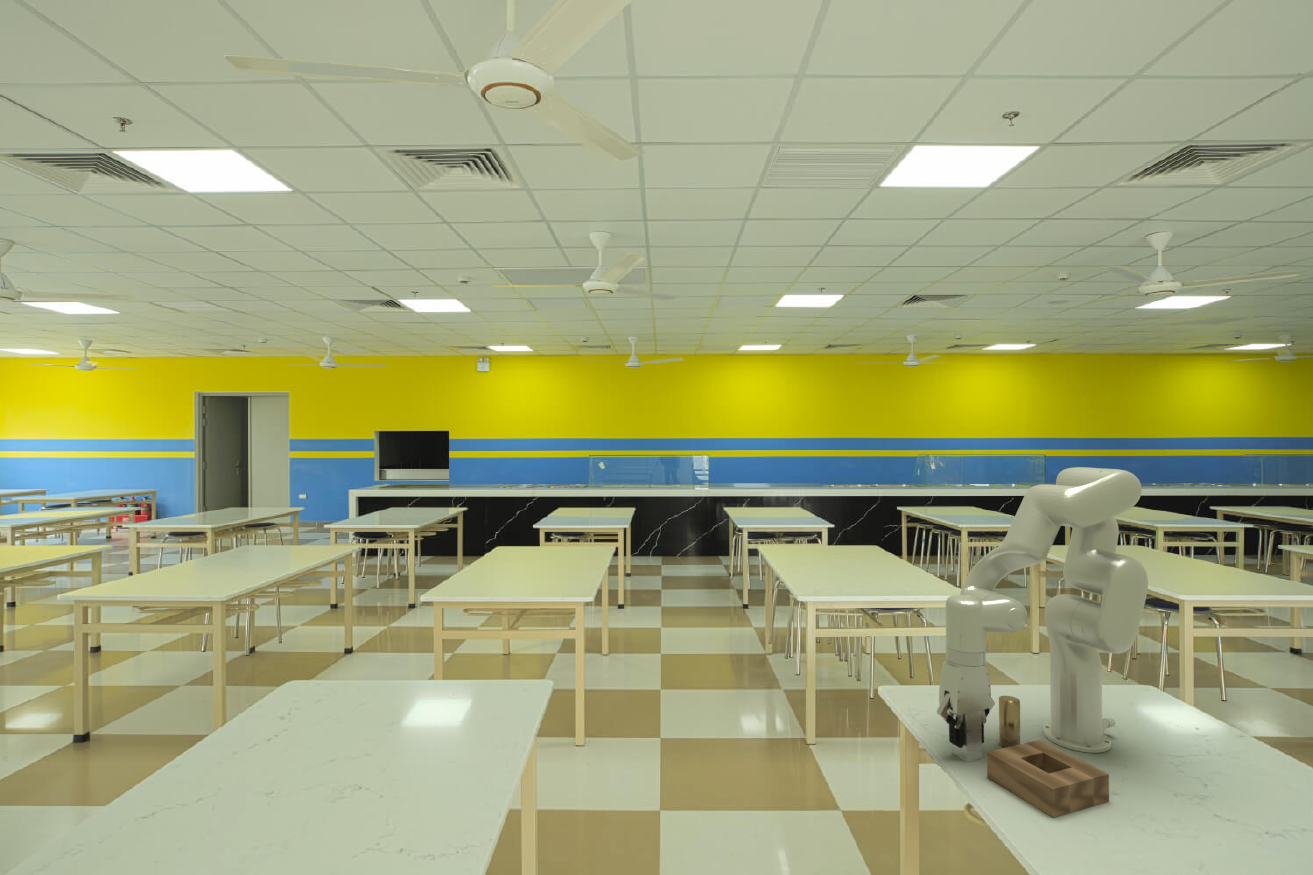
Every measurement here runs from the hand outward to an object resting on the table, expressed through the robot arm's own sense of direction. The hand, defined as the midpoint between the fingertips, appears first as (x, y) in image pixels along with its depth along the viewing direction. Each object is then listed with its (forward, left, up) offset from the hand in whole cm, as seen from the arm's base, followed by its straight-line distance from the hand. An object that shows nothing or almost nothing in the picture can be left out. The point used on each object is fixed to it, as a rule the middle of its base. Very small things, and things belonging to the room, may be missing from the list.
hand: (966, 741), depth 133 cm
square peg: (0, 0, -3) cm, 3 cm away
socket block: (-4, +15, -3) cm, 16 cm away
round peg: (-12, 0, -3) cm, 12 cm away
